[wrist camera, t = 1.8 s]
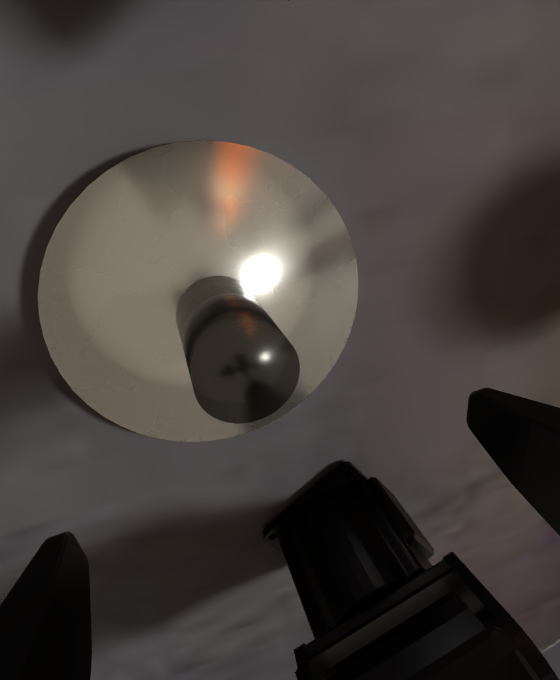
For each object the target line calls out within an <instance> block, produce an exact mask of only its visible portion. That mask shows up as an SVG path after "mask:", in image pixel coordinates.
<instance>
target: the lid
mask: <svg viewBox="0 0 560 680" xmlns="http://www.w3.org/2000/svg"><path fill="white" fill-rule="evenodd" d="M357 299H358V272H357V263H356V258H355V254H354V249H353V245H352V242H351V239H350V237H349V234H348V232H347V229H346V226H345V224H344V223H343V221H342V219H341V217H340V215H339V214H338V212H337V210H336V208H335V207H334V206H333V204H332V203H331V202H330V200H329V199H328V198H327V196H326V195H325V194H324V192H323V191H322V190H321V189H319V188H318V187H317V186H316V185H315V184H314V183H313V182H312V181H311V180H310V179H309V178H308V177H307V176H306V175H304V174H303V173H301V172H300V171H299V170H297V169H296V168H295V167H293V166H292V165H290V164H288V163H287V162H285V161H283V160H281V159H279V158H277V157H276V156H274V155H272V154H269V153H266V152H263V151H261V150H258V149H255V148H252V147H249V146H244V145H239V144H235V143H230V142H220V141H203V140H198V141H186V142H175V143H171V144H167V145H162V146H158V147H154V148H151V149H148V150H146V151H143V152H141V153H138V154H136V155H133V156H131V157H128V158H127V159H125V160H123V161H122V162H120V163H118V164H116V165H115V166H113V167H111V168H110V169H108V170H107V171H105V172H104V173H103V174H102V175H100V176H99V177H98V178H97V179H95V180H94V181H93V182H92V183H90V184H89V185H88V186H87V187H86V188H85V190H84V191H83V192H82V193H81V194H80V195H79V196H78V197H77V198H76V199H75V201H74V202H73V203H72V204H71V205H70V206H69V208H68V209H67V211H66V212H65V214H64V216H63V217H62V219H61V220H60V222H59V223H58V225H57V226H56V228H55V230H54V233H53V235H52V237H51V239H50V242H49V244H48V246H47V248H46V252H45V255H44V259H43V263H42V266H41V270H40V277H39V287H38V308H39V319H40V324H41V328H42V333H43V338H44V340H45V343H46V345H47V348H48V351H49V353H50V356H51V358H52V360H53V362H54V363H55V365H56V367H57V369H58V370H59V372H60V374H61V376H62V377H63V378H64V379H65V381H66V382H67V383H68V385H69V386H70V387H71V388H72V390H73V391H74V392H75V393H76V394H77V395H78V396H79V397H80V398H81V399H82V400H83V401H84V402H85V403H86V404H87V405H89V406H90V407H91V408H93V409H94V410H95V411H97V412H98V413H99V414H101V415H102V416H103V417H105V418H107V419H109V420H110V421H112V422H114V423H116V424H118V425H119V426H122V427H124V428H126V429H129V430H131V431H134V432H136V433H139V434H143V435H146V436H150V437H154V438H158V439H164V440H171V441H184V442H199V441H212V440H218V439H224V438H229V437H233V436H237V435H240V434H244V433H247V432H249V431H252V430H255V429H257V428H260V427H262V426H264V425H266V424H268V423H270V422H272V421H274V420H276V419H278V418H279V417H281V416H282V415H284V414H286V413H287V412H289V411H290V410H292V409H293V408H294V407H296V406H297V405H298V404H299V403H301V402H302V401H303V400H304V399H305V398H306V397H307V396H309V395H310V394H311V393H312V392H313V391H314V390H315V389H316V388H317V387H318V385H319V384H320V383H321V382H322V381H323V379H324V378H325V377H326V376H327V375H328V373H329V372H330V370H331V369H332V367H333V366H334V364H335V363H336V361H337V360H338V358H339V356H340V354H341V352H342V350H343V348H344V346H345V344H346V341H347V339H348V336H349V334H350V331H351V328H352V324H353V320H354V317H355V313H356V306H357Z"/></svg>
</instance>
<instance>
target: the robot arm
mask: <svg viewBox="0 0 560 680" xmlns="http://www.w3.org/2000/svg"><path fill="white" fill-rule="evenodd" d="M467 424H468V427H469V428H470V430H471V431H472V433H473V434H474V435H475V437H476V438H477V439H478V441H479V442H480V443H481V445H482V446H483V447H484V448H485V450H486V451H487V452H488V454H489V455H490V456H491V458H492V459H493V460H494V462H495V463H496V464H497V466H498V467H499V468H500V469H501V471H502V472H503V473H504V475H505V476H506V477H507V478H508V480H509V481H510V482H511V483H512V484H513V485H514V487H515V488H516V489H517V490H518V491H519V492H520V493H521V494H522V495H523V496H524V498H525V499H526V500H527V501H528V502H529V503H530V504H531V505H532V506H533V507H534V508H535V510H536V511H537V512H538V513H539V514H540V515H541V516H542V517H543V518H544V519H545V520H546V521H547V523H548V524H549V525H550V526H551V527H552V528H553V529H554V530H555V531H556V532H557V533H558V534H559V536H560V408H558V407H554V406H551V405H547V404H544V403H540V402H537V401H533V400H530V399H526V398H523V397H519V396H515V395H512V394H508V393H505V392H501V391H498V390H494V389H491V388H483V389H480V390H477V391H474V392H472V393H471V394H470V396H469V400H468V409H467ZM263 536H264V539H265V541H266V542H267V543H269V544H271V545H272V546H274V547H276V548H277V549H279V550H281V551H282V552H283V554H284V557H285V559H286V562H287V565H288V568H289V570H290V573H291V576H292V578H293V581H294V584H295V587H296V589H297V592H298V595H299V597H300V600H301V603H302V606H303V608H304V611H305V614H306V616H307V619H308V622H309V625H310V627H311V630H312V633H313V636H314V638H315V640H313V641H311V642H310V643H308V644H307V645H305V644H302V645H301V646H299V647H297V648H296V649H294V653H295V658H296V662H297V667H298V668H297V670H296V672H295V674H296V677H297V680H559V679H558V677H557V676H556V674H555V673H554V671H553V670H552V668H551V667H550V665H549V664H548V662H547V661H546V660H545V658H544V657H543V655H542V654H541V653H540V651H539V650H538V649H537V647H536V646H535V644H534V643H533V642H532V641H531V639H530V638H529V637H528V636H527V634H526V633H525V632H524V631H523V629H522V628H521V627H520V626H519V625H518V624H517V622H516V621H515V620H514V619H513V618H512V617H511V616H510V615H509V613H508V612H507V611H506V610H505V609H504V608H503V607H502V606H501V605H500V604H499V602H498V601H497V600H496V599H495V598H494V597H493V596H492V595H491V594H490V592H489V591H488V590H487V589H486V588H485V587H484V586H483V585H482V584H481V583H480V581H479V580H478V579H477V578H476V577H475V576H474V575H473V574H472V573H471V572H470V570H469V569H468V568H467V567H466V566H465V565H464V564H463V563H462V562H461V560H460V559H459V558H458V557H457V556H456V555H455V554H454V553H453V552H451V553H449V554H447V555H446V556H444V557H443V560H442V561H440V562H439V563H437V564H435V565H434V566H432V565H431V564H430V562H429V561H428V559H429V558H431V557H432V556H433V555H434V549H433V547H432V546H431V545H430V543H429V542H428V541H427V539H426V538H425V537H424V535H423V534H422V533H421V531H420V530H419V528H418V527H417V526H416V524H415V523H414V522H413V520H412V519H411V518H410V516H409V515H408V513H407V512H406V511H405V509H404V508H403V507H402V505H401V504H400V503H399V501H398V500H397V499H396V497H395V496H394V495H393V494H392V493H391V492H390V491H389V490H388V489H387V488H386V487H385V486H384V485H383V484H382V483H381V482H380V481H379V480H378V479H377V478H373V477H371V478H369V479H368V478H366V477H365V476H364V475H363V474H362V473H361V472H360V471H359V470H358V469H357V468H356V467H355V466H354V465H353V464H352V463H350V462H343V463H341V464H340V465H338V466H337V467H336V468H335V469H334V470H333V471H331V472H330V473H329V474H328V475H327V476H326V477H324V478H323V479H322V480H321V481H320V482H318V483H317V484H316V485H315V486H314V487H313V488H311V489H310V490H309V491H308V492H307V493H306V494H304V495H303V496H302V497H301V498H300V499H299V500H297V501H296V502H295V503H294V504H293V505H291V506H290V507H289V508H288V509H287V510H286V511H284V512H283V513H282V514H281V515H280V516H279V517H277V518H276V519H275V520H274V521H273V522H271V523H270V524H269V525H268V526H267V527H266V528H265V529H264V530H263ZM91 659H92V637H91V609H90V582H89V565H88V560H87V557H86V555H85V554H84V552H83V550H82V548H81V547H80V545H79V543H78V542H77V540H76V538H75V536H74V535H73V534H72V533H71V532H64V533H61V534H58V535H55V536H52V537H49V538H48V539H46V540H45V541H44V543H43V544H42V545H41V547H40V548H39V550H38V551H37V553H36V554H35V556H34V557H33V558H32V560H31V561H30V563H29V564H28V566H27V567H26V569H25V570H24V572H23V573H22V574H21V576H20V577H19V579H18V580H17V582H16V583H15V585H14V586H13V588H12V589H11V590H10V592H9V593H8V595H7V596H6V598H5V599H4V601H3V602H2V604H1V605H0V680H90V676H91Z"/></svg>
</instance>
